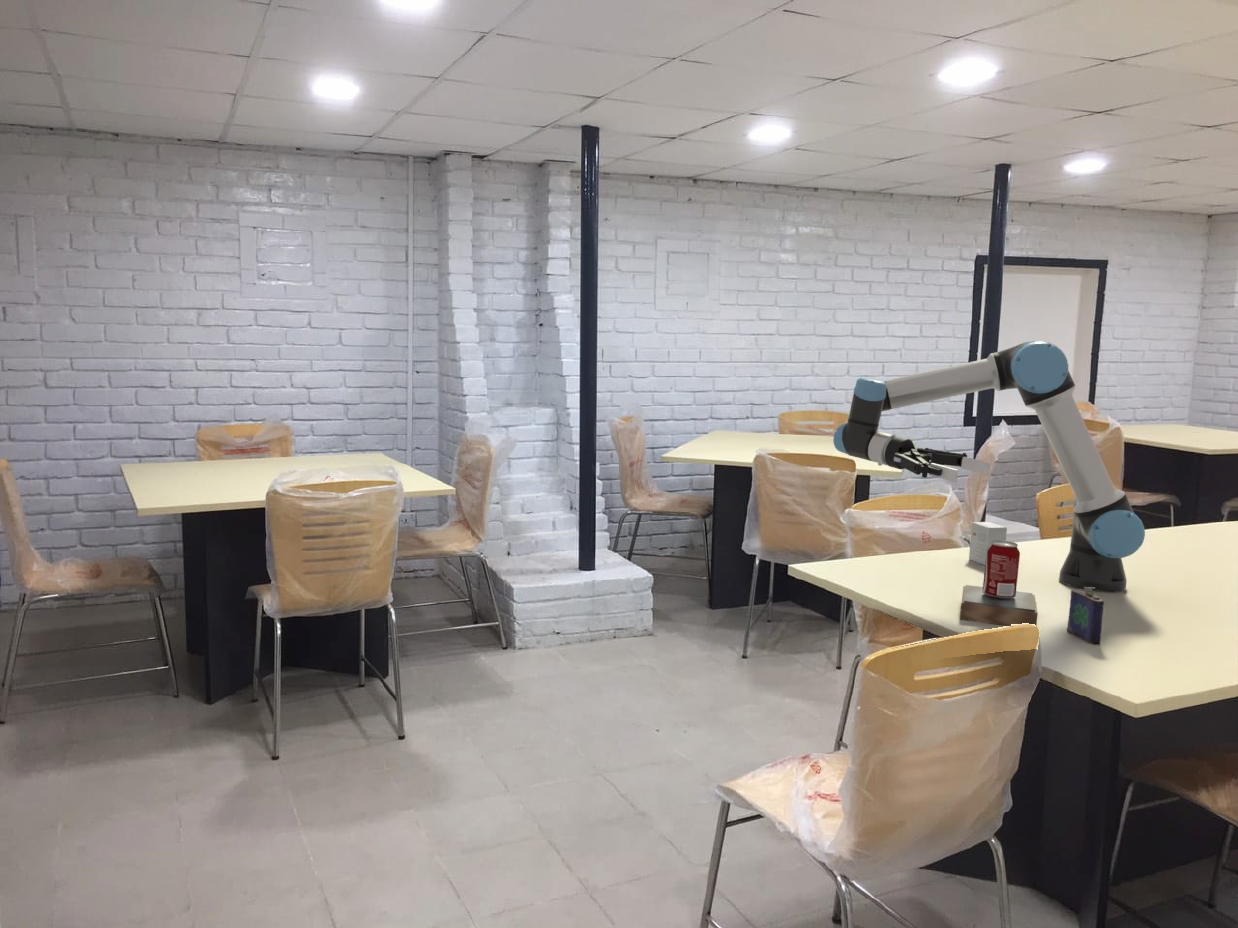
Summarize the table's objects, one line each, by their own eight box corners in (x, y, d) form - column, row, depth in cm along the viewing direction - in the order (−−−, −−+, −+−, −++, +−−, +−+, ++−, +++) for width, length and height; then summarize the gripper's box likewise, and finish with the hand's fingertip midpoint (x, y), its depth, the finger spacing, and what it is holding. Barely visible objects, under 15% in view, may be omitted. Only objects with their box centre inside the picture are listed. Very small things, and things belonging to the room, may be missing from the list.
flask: (1064, 630, 202) (1069, 580, 201) (1077, 630, 202) (1082, 580, 201) (1091, 645, 193) (1097, 592, 192) (1104, 645, 193) (1111, 592, 192)
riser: (1032, 610, 217) (1034, 592, 216) (1035, 629, 202) (1037, 610, 201) (961, 601, 222) (963, 584, 221) (959, 619, 207) (961, 601, 206)
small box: (1004, 565, 260) (1007, 527, 258) (985, 566, 258) (989, 527, 257) (985, 558, 267) (989, 521, 266) (968, 559, 266) (971, 521, 264)
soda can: (1018, 602, 207) (1023, 547, 206) (985, 599, 209) (990, 544, 207) (1011, 594, 214) (1017, 541, 212) (979, 591, 215) (984, 538, 214)
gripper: (919, 460, 242) (998, 481, 227) (859, 471, 226) (939, 495, 211) (923, 431, 240) (1003, 450, 225) (863, 440, 224) (945, 462, 209)
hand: (972, 472), depth 218 cm, fingers open, 13 cm apart
